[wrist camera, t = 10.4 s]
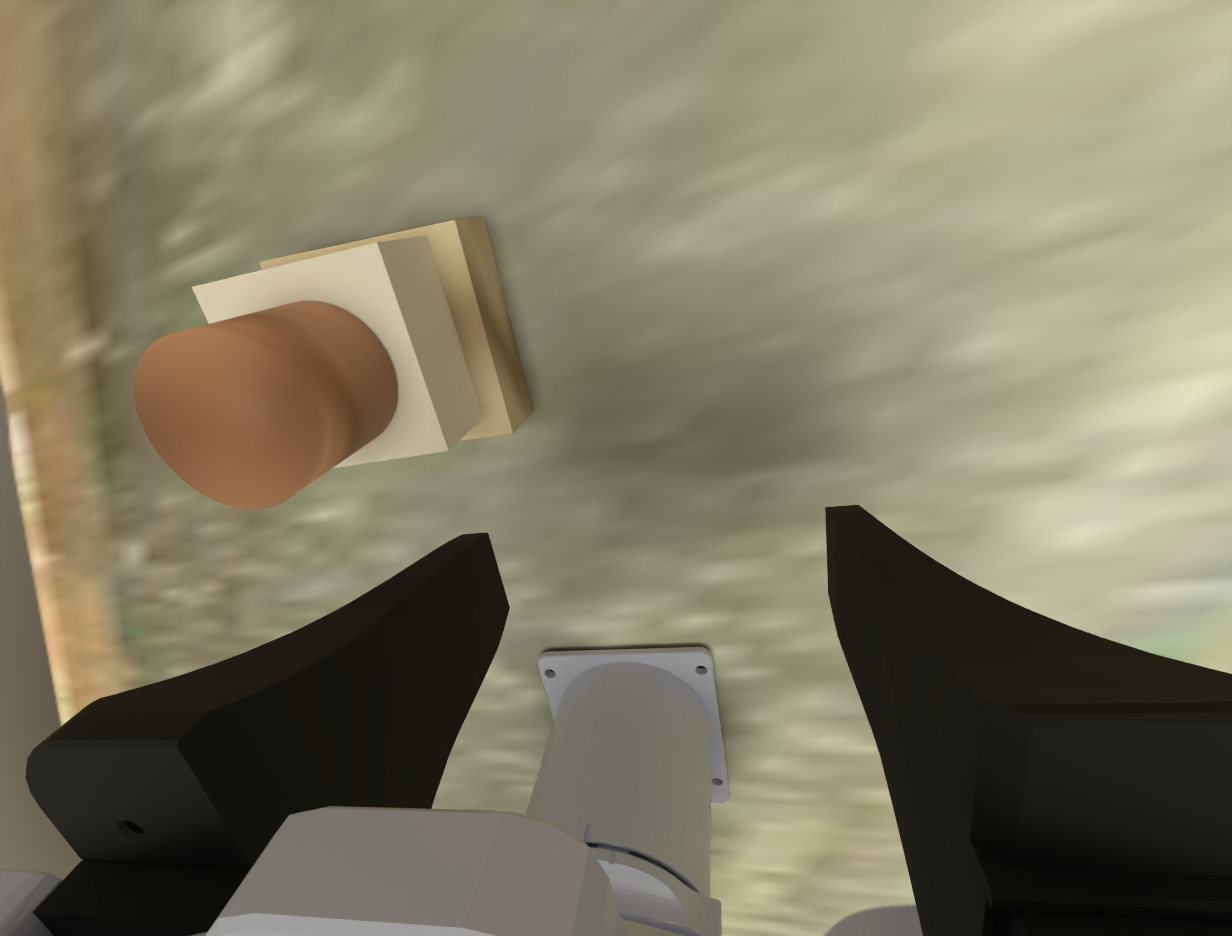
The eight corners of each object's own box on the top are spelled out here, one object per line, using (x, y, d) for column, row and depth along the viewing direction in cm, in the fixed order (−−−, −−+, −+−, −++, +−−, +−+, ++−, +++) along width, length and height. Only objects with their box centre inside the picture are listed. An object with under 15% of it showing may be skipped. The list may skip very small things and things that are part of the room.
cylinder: (413, 443, 18) (333, 507, 14) (287, 449, 19) (182, 511, 15) (371, 293, 16) (268, 322, 12) (234, 308, 17) (101, 339, 13)
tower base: (536, 406, 23) (512, 434, 21) (378, 428, 25) (337, 456, 22) (488, 216, 21) (454, 219, 18) (314, 253, 22) (259, 261, 19)
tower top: (483, 417, 21) (448, 451, 18) (334, 441, 22) (280, 476, 19) (426, 235, 18) (376, 242, 16) (263, 274, 20) (191, 287, 17)
